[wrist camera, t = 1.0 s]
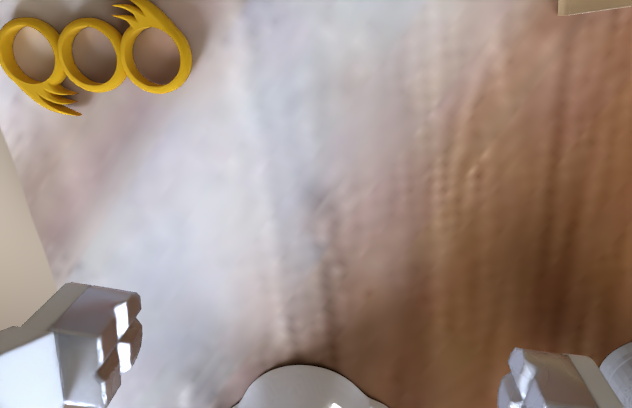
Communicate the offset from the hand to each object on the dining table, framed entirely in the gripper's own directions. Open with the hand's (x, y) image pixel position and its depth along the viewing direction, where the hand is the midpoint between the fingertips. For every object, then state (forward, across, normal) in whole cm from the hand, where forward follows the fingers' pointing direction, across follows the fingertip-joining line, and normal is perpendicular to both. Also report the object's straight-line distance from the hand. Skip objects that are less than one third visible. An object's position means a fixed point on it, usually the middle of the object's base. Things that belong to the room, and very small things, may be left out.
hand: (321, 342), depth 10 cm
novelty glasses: (+32, -21, 0) cm, 39 cm away
